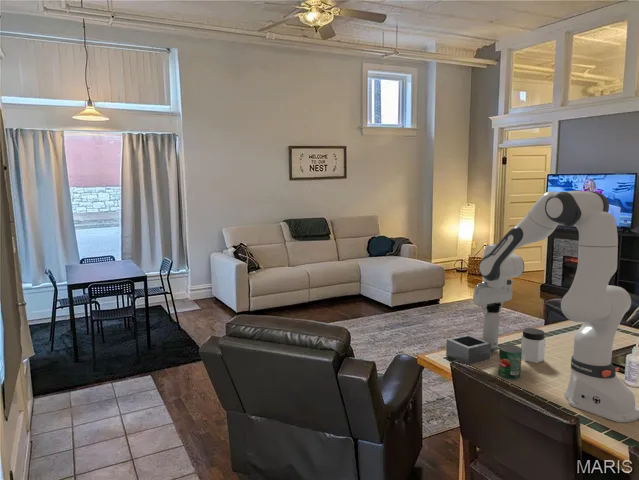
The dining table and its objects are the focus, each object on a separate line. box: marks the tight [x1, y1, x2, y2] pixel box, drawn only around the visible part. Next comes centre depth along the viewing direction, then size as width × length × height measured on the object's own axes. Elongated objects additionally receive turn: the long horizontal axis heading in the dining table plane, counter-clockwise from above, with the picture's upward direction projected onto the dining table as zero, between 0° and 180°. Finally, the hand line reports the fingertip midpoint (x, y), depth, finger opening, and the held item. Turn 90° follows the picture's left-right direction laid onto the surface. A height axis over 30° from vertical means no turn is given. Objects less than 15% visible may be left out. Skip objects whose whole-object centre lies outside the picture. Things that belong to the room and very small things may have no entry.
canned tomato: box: [497, 344, 522, 381], centre depth 177 cm, size 8×8×11 cm
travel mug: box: [482, 303, 501, 351], centre depth 202 cm, size 6×7×20 cm
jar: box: [520, 327, 546, 364], centre depth 193 cm, size 9×8×12 cm
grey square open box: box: [445, 334, 492, 366], centre depth 195 cm, size 12×12×7 cm
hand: (491, 312), depth 201 cm, fingers closed on travel mug, 6 cm apart
